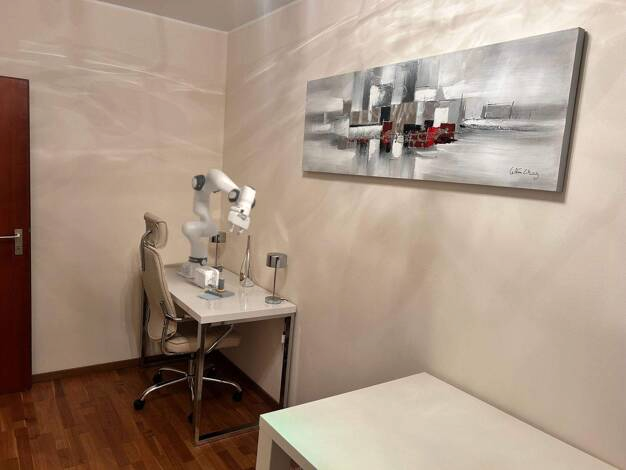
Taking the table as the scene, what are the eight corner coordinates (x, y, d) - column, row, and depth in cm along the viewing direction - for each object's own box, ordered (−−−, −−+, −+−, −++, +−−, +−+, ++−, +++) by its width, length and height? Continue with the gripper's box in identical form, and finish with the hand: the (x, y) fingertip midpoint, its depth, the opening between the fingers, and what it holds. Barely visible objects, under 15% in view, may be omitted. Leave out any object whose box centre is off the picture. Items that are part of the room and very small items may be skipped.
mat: (196, 296, 288) (196, 295, 288) (208, 294, 295) (208, 293, 295) (208, 300, 282) (208, 299, 282) (219, 297, 289) (219, 297, 289)
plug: (215, 294, 297) (216, 277, 296) (220, 293, 301) (221, 276, 300) (220, 295, 295) (221, 279, 293) (225, 294, 298) (226, 278, 297)
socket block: (206, 293, 298) (206, 288, 297) (218, 290, 306) (218, 286, 306) (222, 298, 290) (222, 293, 289) (234, 295, 298) (234, 290, 297)
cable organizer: (218, 288, 312) (220, 270, 310) (203, 289, 305) (205, 271, 304) (208, 283, 323) (209, 266, 322) (193, 284, 317) (194, 267, 315)
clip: (212, 288, 299) (212, 287, 299) (210, 288, 297) (210, 287, 297) (205, 285, 303) (205, 284, 303) (202, 286, 301) (202, 285, 301)
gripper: (245, 214, 303) (238, 235, 301) (229, 206, 284) (222, 228, 282) (254, 217, 300) (247, 238, 299) (238, 208, 281) (231, 231, 280)
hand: (234, 233), depth 290 cm, fingers open, 8 cm apart
